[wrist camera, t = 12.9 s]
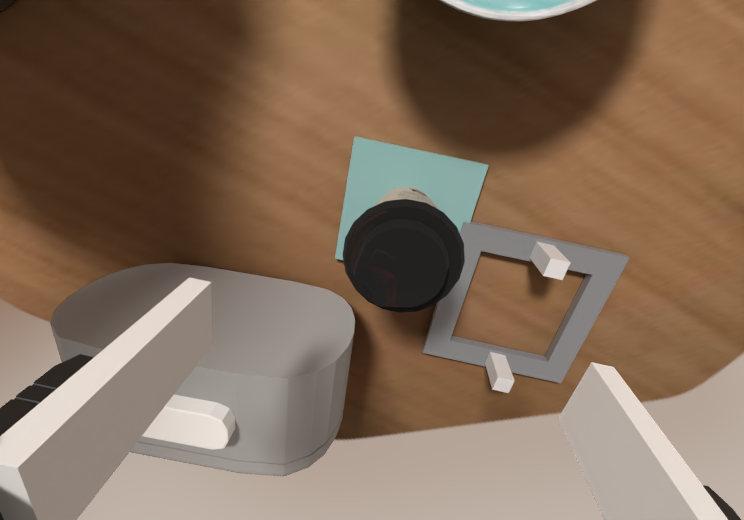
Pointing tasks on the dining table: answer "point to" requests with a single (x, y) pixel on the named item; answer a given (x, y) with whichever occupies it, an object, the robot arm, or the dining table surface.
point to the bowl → (516, 8)
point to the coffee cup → (403, 252)
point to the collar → (551, 263)
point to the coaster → (408, 181)
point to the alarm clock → (232, 365)
